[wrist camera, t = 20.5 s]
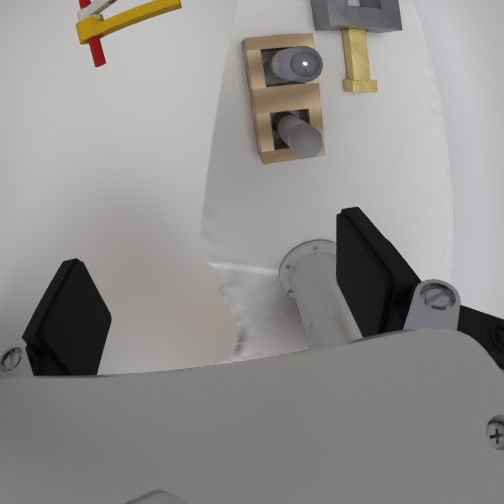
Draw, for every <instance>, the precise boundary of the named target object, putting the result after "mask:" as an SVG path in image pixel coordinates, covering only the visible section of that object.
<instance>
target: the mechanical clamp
mask: <svg viewBox="0 0 504 504" xmlns="http://www.w3.org/2000/svg"><path fill="white" fill-rule="evenodd" d="M115 1H117V0H95V1H93V2H92V3H91V1H90V0H79V3H80V8H81V10H80V11H79V12H78V13H77V15H78V19H79V22H78V23H77V24H76V28H77V32H78V36H79V40H80V44H87V43H89V45H90V49H91V52H92V56H93V60H94V63H95V67H99V66H101V65H103V64H105V63H106V61H105V57H104V54H103V50H102V46H101V42H100V38H102V37H104V36H106V35H108V34H110V33H113V32H115V31H117V30H120V29H122V28H125V27H127V26H130V25H132V24H135V23H138V22H140V21H143V20H146V19H149V18H151V17H154V16H157V15H160V14H164V13H167V12H170V11H173V10H176V9H180V8H182V7H181V3H180V0H155V1H152V2H149V3H146V4H143V5H141V6H138V7H136V8H133V9H130V10H127V11H125V12H122V13H120V14H118V15H115V16H113V17H111V18H108V19H106V20H104V19H103V16H102V15H101V14H99V13H100V12H102V11H103V10H104V9H105V8H107V7H108V6H110V5H111V4H113V3H114V2H115Z"/></svg>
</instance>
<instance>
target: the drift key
mask: <svg viewBox="0 0 504 504" xmlns="http://www.w3.org/2000/svg"><path fill="white" fill-rule="evenodd" d="M342 36H343V43H344V52H345V61H346V70H347V79H343V80H344V90H346V91H350V92H377V81H375V80H370V73H369V61H368V51H367V42H366V34H365V29H354V28H344V29H342Z"/></svg>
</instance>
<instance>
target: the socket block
mask: <svg viewBox="0 0 504 504" xmlns="http://www.w3.org/2000/svg"><path fill="white" fill-rule="evenodd" d="M311 6H312V12H313V19H314V25H315V30H341V29H344V28H354V29H365V31H366V32H379V33H382V32H391V31H401V30H402V23H401V16H400V9H399V3H398V0H360V6H361V7H355V6H348V0H311Z"/></svg>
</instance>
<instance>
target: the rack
mask: <svg viewBox="0 0 504 504" xmlns="http://www.w3.org/2000/svg"><path fill="white" fill-rule="evenodd" d="M241 43H242V49H243V56H244V62H245V68H246V74H247V81H248V87H249V94H250V100H251V107H252V113H253V120H254V127H255V133H256V140H257V147H258V154H259V156H260V158H261V160H262V162H263V164H268V163H275V162H281V161H288V160H296V159H303V158H311V157H319V156H325V150H324V136H323V123H322V111H321V100H320V90H319V80H318V77H317V78H316V79H315V80H313V81H311V82H307V83H301V82H289V83H279V84H270V85H266V83H265V76H264V69H263V63H262V56H261V51H270V50H281V49H289V48H292V47H296V46H308V47H311V48H313V49H314V50H315V47H314V40H313V34H289V35H274V36H263V37H254V38H245V39H244V40H243V41H242V42H241ZM290 110H299V112H300V118H298V117H297V116H295V115H293V114H292V113H290V112H288V111H290ZM273 112H277V113H276V114H275V115H274V116H273V117H272V120H271V119H270V113H273ZM271 125H272V126H271ZM272 128H273V130H274V131H275V132H276V133H277V134H278V135H279V136H280V137H281V138H282V139H281V140H274V141H273V134H272Z"/></svg>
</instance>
